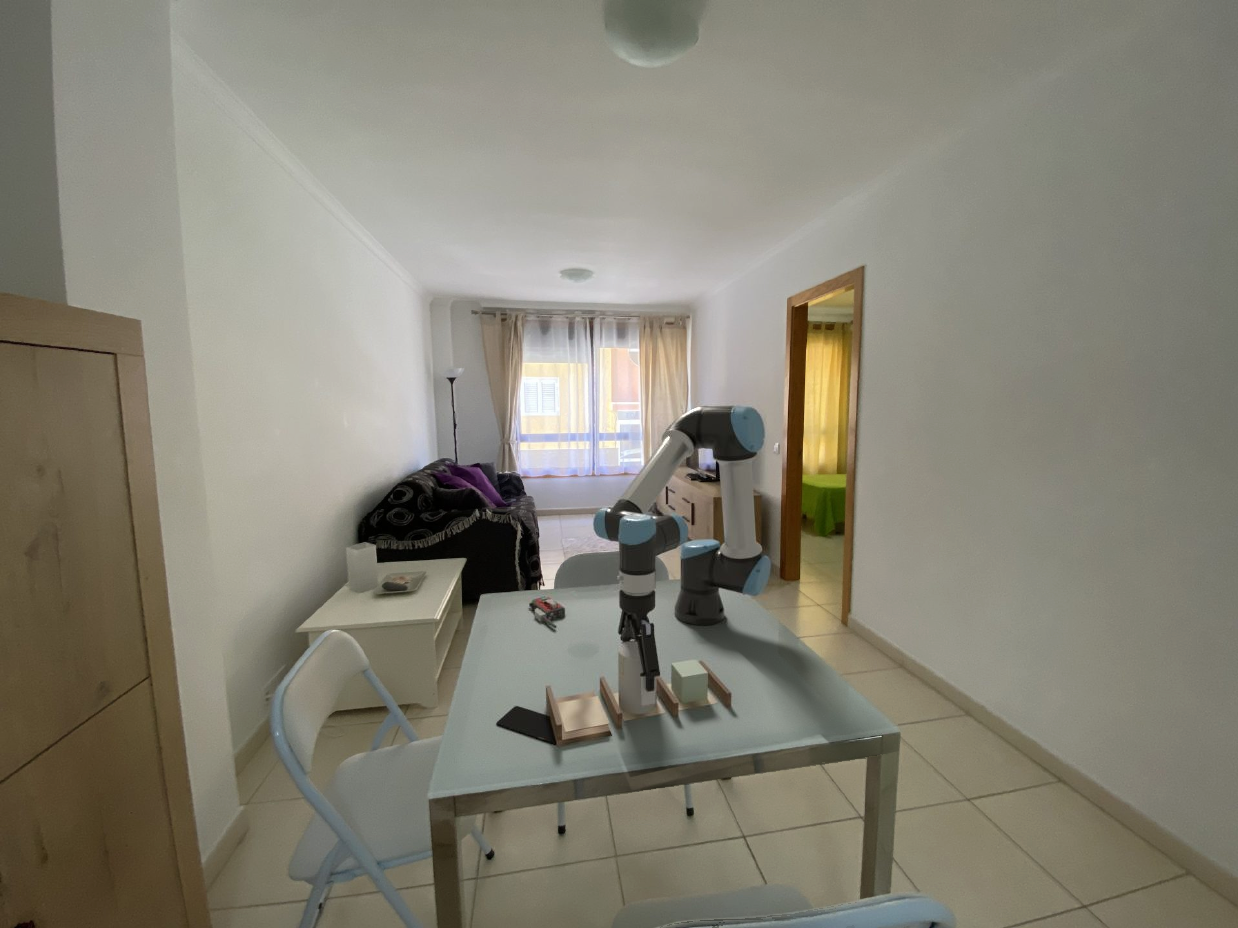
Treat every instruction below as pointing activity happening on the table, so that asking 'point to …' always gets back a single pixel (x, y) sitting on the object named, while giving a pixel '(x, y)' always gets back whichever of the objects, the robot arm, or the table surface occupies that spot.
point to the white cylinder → (631, 680)
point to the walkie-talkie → (547, 610)
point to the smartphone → (529, 724)
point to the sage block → (689, 681)
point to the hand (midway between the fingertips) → (637, 685)
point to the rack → (615, 709)
